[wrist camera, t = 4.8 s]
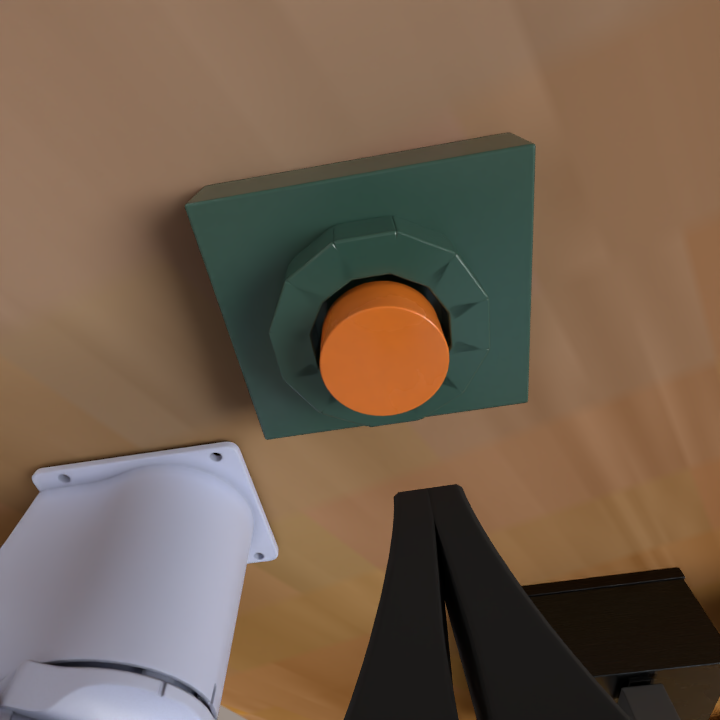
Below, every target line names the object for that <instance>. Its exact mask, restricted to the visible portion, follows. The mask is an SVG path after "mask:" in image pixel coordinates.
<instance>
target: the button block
mask: <svg viewBox="0 0 720 720" xmlns="http://www.w3.org/2000/svg"><path fill="white" fill-rule="evenodd" d="M535 147H536V146H535V144H534V143H531V142H529V141H527V140H525V139H523V138H521V137H519V136H516V135H514V134H512V133H509V132H508V133H503V134H497V135H491V136H486V137H480V138H474V139H469V140H463V141H457V142H452V143H446V144H440V145H435V146H429V147H423V148H418V149H412V150H406V151H401V152H395V153H389V154H384V155H378V156H372V157H367V158H361V159H355V160H350V161H344V162H338V163H333V164H327V165H321V166H316V167H310V168H304V169H299V170H293V171H287V172H282V173H276V174H270V175H265V176H259V177H253V178H248V179H242V180H236V181H231V182H225V183H219V184H214V185H208V186H205V187H203V188H202V189H201V190H200V191H199V192H198V193H197V194H196V195H195V196H194V197H193V198H192V199H191V200H190V201H189V202H187V203H186V204H185V210H186V212H187V215H188V218H189V221H190V224H191V227H192V230H193V233H194V235H195V238H196V241H197V244H198V247H199V250H200V253H201V256H202V258H203V261H204V264H205V267H206V270H207V273H208V276H209V279H210V281H211V284H212V287H213V290H214V293H215V296H216V299H217V302H218V304H219V307H220V310H221V313H222V316H223V319H224V322H225V325H226V327H227V330H228V333H229V336H230V339H231V342H232V345H233V347H234V350H235V353H236V356H237V359H238V362H239V365H240V368H241V370H242V373H243V376H244V379H245V382H246V385H247V388H248V391H249V393H250V396H251V399H252V402H253V405H254V408H255V411H256V414H257V416H258V419H259V422H260V425H261V428H262V431H263V434H264V437H265V439H267V440H268V439H275V438H282V437H289V436H296V435H303V434H310V433H317V432H324V431H331V430H338V429H345V428H352V427H359V426H369V427H374V426H381V425H388V424H395V423H402V422H409V421H416V420H420V419H423V418H424V417H429V416H436V415H443V414H450V413H457V412H464V411H471V410H478V409H485V408H492V407H499V406H506V405H513V404H520V403H526V402H528V383H529V350H530V316H531V282H532V248H533V215H534V181H535ZM372 281H393V282H398V283H402V284H405V285H407V286H410V287H412V288H414V289H415V290H417V291H418V292H420V293H421V294H422V295H424V296H425V297H426V299H427V300H428V301H429V302H430V303H431V305H432V306H433V308H434V310H435V312H436V314H437V317H438V320H439V322H440V325H441V328H442V331H443V334H444V336H445V339H446V342H447V345H448V349H449V367H448V371H447V374H446V377H445V379H444V381H443V383H442V385H441V386H440V388H439V389H438V390H437V392H436V393H435V394H434V395H433V396H432V397H431V398H430V399H429V400H427V401H426V402H425V403H423V404H422V405H420V406H418V407H416V408H415V409H412V410H410V411H407V412H404V413H401V414H396V415H389V416H374V415H367V414H363V413H359V412H357V411H354V410H352V409H350V408H348V407H346V406H344V405H343V404H341V403H340V402H339V401H338V400H336V399H335V398H334V397H333V395H332V394H331V393H330V392H329V390H328V389H327V388H326V386H325V384H324V382H323V379H322V376H321V372H320V348H321V335H322V326H323V322H324V319H325V316H326V314H327V312H328V310H329V309H330V307H331V306H332V304H333V303H334V302H335V301H336V300H337V299H338V298H339V297H340V296H341V295H342V294H344V293H345V292H347V291H348V290H350V289H352V288H354V287H356V286H358V285H361V284H364V283H368V282H372Z"/></svg>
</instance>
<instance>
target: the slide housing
mask: <svg viewBox="0 0 720 720" xmlns="http://www.w3.org/2000/svg"><path fill="white" fill-rule="evenodd" d="M684 579H685V576H684V574H683V573H682V571H681V570H680V568H674V569H665V570H657V571H649V572H641V573H632V574H624V575H616V576H607V577H599V578H591V579H583V580H574V581H566V582H558V583H550V584H541V585H533V586H525V587H522V588H523V590H524V591H525V592H526V594H527V595H528V596H529V598H530V599H531V600H532V602H533V603H534V604H535V606H536V607H537V608H538V610H539V611H540V612H541V614H542V615H543V616H544V618H545V619H546V620H547V621H548V623H549V624H550V625H551V627H552V628H553V629H554V630H555V632H556V633H557V634H558V635H559V637H560V638H561V639H562V640H563V642H564V643H565V644H566V645H567V647H568V648H569V649H570V650H571V651H572V653H573V654H574V655H575V656H576V657H577V658H578V660H579V661H580V662H581V663H582V664H583V666H584V667H585V668H586V669H587V670H588V671H589V673H590V674H591V675H592V676H593V677H594V678H595V679H596V681H597V682H598V683H599V684H600V685H601V686H602V687H603V688H604V690H605V691H606V692H607V693H608V694H609V695H610V696H611V697H612V699H613V700H614V701H615V702H616V703H617V704H618V700H619V696H620V692H621V688H623V687H631V686H640V685H650V684H659V683H661V684H663V686H664V688H665V690H666V692H667V694H668V696H669V698H670V700H671V702H672V704H673V706H674V708H675V710H676V711H677V713H678V715H679V717H680V719H681V720H708V719H709V717H710V715H711V713H712V711H713V709H714V707H715V705H716V703H717V701H718V699H719V697H720V635H719V633H718V632H717V630H716V628H715V627H714V625H713V624H712V622H711V621H710V619H709V618H708V616H707V615H706V613H705V612H704V610H703V608H702V607H701V605H700V604H699V602H698V601H697V599H696V598H695V596H694V595H693V593H692V591H691V590H690V588H689V587H688V585H687V584H686V582H685V581H684Z"/></svg>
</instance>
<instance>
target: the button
mask: <svg viewBox="0 0 720 720" xmlns="http://www.w3.org/2000/svg"><path fill="white" fill-rule="evenodd" d="M448 367H449V349H448V345H447V342H446V339H445V336H444V334H443V331H442V328H441V325H440V322H439V320H438V317H437V314H436V312H435V310H434V308H433V306H432V305H431V303H430V302H429V301H428V300H427V299H426V297H425V296H424V295H422V294H421V293H420V292H418V291H417V290H415V289H414V288H412V287H410V286H407V285H405V284H402V283H398V282H393V281H372V282H368V283H364V284H361V285H358V286H356V287H354V288H352V289H350V290H348V291H347V292H345V293H344V294H342V295H341V296H340V297H339V298H338V299H337V300H336V301H335V302H334V303H333V304H332V306H331V307H330V309H329V310H328V312H327V314H326V316H325V319H324V322H323V326H322V335H321V348H320V372H321V376H322V379H323V382H324V384H325V386H326V388H327V389H328V390H329V392H330V393H331V394H332V395H333V397H334V398H335V399H336V400H338V401H339V402H340V403H341V404H343V405H344V406H346V407H348V408H350V409H352V410H354V411H357V412H359V413H363V414H367V415H374V416H389V415H396V414H401V413H404V412H407V411H410V410H412V409H415V408H416V407H418V406H420V405H422V404H423V403H425V402H426V401H427V400H429V399H430V398H431V397H432V396H433V395H434V394H435V393H436V392H437V390H438V389H439V388H440V386H441V385H442V383H443V381H444V379H445V377H446V374H447V371H448Z"/></svg>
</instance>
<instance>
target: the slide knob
mask: <svg viewBox="0 0 720 720" xmlns="http://www.w3.org/2000/svg"><path fill="white" fill-rule="evenodd" d="M618 705H619V706H620V708H621V709H622V710H623V711H624V712H625V713H626V714H627V715H628V716H629V717H630V718H631V719H632V720H681V719H680V717H679V715H678V713H677V711H676V710H675V708H674V706H673V704H672V702H671V700H670V698H669V696H668V694H667V692H666V690H665V688H664V686H663V684H661V683H659V684H650V685H640V686H631V687H623V688H621V692H620V696H619V700H618Z"/></svg>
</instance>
